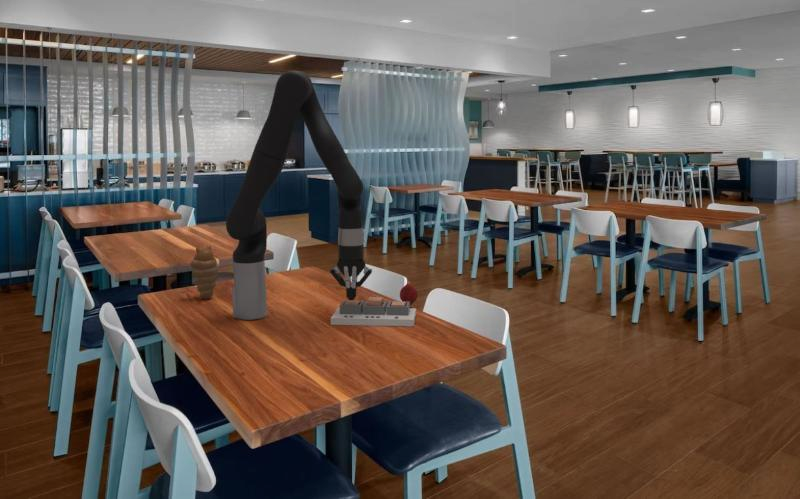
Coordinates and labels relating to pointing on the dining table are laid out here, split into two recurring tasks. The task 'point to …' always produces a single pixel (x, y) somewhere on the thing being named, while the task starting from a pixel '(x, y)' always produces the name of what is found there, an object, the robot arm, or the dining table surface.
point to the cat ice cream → (205, 271)
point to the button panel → (374, 314)
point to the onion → (408, 293)
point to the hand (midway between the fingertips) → (351, 299)
